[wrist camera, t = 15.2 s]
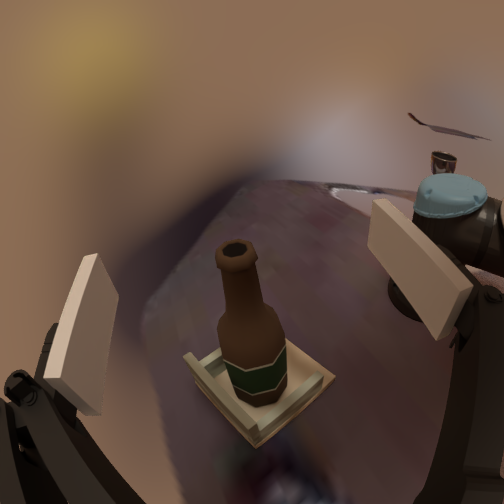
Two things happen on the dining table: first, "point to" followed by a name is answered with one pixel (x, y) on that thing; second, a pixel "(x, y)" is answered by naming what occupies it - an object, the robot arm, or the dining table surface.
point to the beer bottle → (249, 329)
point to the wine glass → (442, 162)
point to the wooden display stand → (268, 416)
